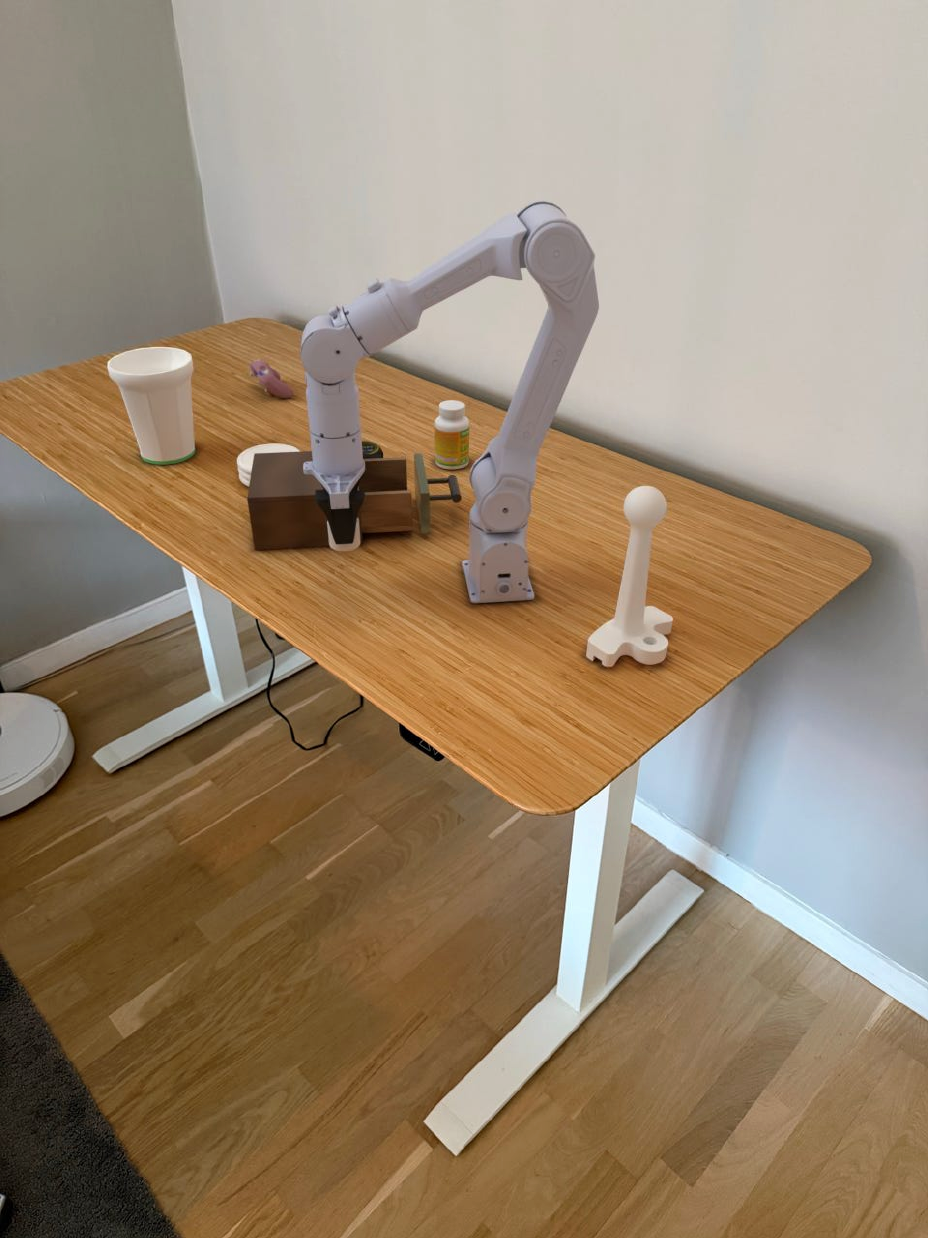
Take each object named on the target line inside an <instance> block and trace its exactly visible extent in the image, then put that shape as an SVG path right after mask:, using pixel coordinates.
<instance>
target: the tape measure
mask: <svg viewBox="0 0 928 1238" xmlns="http://www.w3.org/2000/svg"><path fill="white" fill-rule="evenodd" d="M362 453H363V459H374V458H384V451H383V449H382V448H381V446H379V445H378V444H377V443H376V442H374V441H373V442H372V441H368V440H362Z"/></svg>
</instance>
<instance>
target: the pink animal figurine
mask: <svg viewBox="0 0 928 1238" xmlns="http://www.w3.org/2000/svg"><path fill="white" fill-rule="evenodd" d="M248 366H249V369H250V371H249V375H250V376H251V377H252V378H254V377H256V378H257V379H258V381H259V384H260V385H261V386H262V388H264V390H263V391H264V392H265V393H266V394H269V396H270V397H271V396H272V395H274V396H277V397H279V398H282V399H291V398H292V397H293V394H294V392H293V389H292V388H291V387H290V386H289V385H288V384H286V383H284V382H283V381H281V374H280V373H279V371H277V370H276V369H275V368H273V367H271V365H270V364H269V363H268V362H266V361H264V360H260V358H258V359H257V360H256V359H255V360H253V361H252V362H251V363H249V364H248Z"/></svg>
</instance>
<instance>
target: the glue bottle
mask: <svg viewBox="0 0 928 1238" xmlns="http://www.w3.org/2000/svg"><path fill="white" fill-rule="evenodd" d="M327 527H328V537H329V545H330V546H329V547H330V548H331V549H333V550H334V551H336V552H350V551H353V550H356V549H357V548H359V547H360V529H359V519H358V517H357V521H356V529H355V536H354V541H353V543H352V544H336V543H335V541H334V539H333V536H332V533H331V530H330V526H329V523H328V520H327Z"/></svg>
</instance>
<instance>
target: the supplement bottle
mask: <svg viewBox="0 0 928 1238" xmlns="http://www.w3.org/2000/svg"><path fill="white" fill-rule="evenodd" d="M465 414H466V405H465V403H464V402H462V401H461V400H455V399H449V400H444V401H441V402H440V403H439V404H438V416H437V417H436V418H435V420H434V463H435V465H436V466H437V467H438V468H440V469H443V470H461V469H463V468H466V467H467V466H468V465H469V462H470V420H469V418H468V417H467V416H466V415H465Z"/></svg>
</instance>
